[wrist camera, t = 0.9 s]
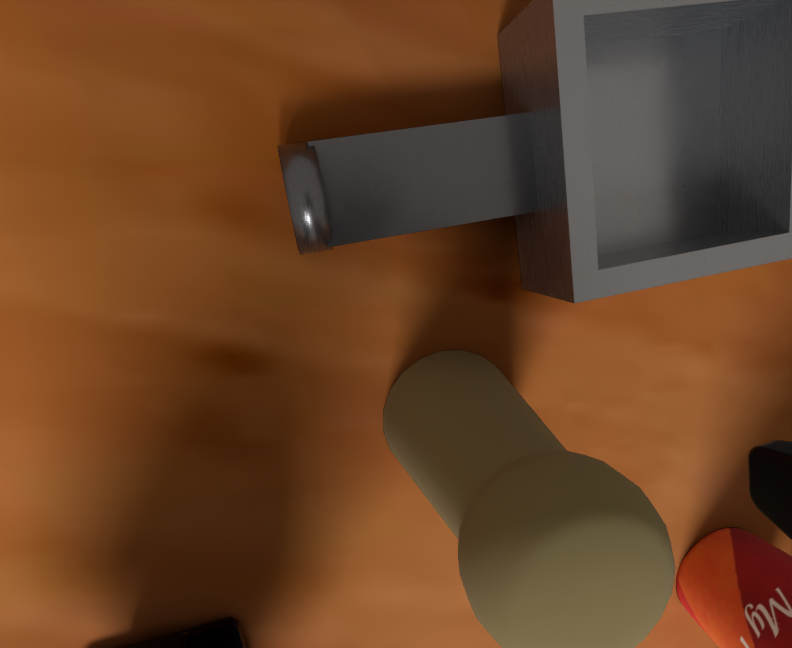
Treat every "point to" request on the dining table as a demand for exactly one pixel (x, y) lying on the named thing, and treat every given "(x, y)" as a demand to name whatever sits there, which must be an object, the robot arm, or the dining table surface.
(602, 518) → the cork
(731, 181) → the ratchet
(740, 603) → the paper cup
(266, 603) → the dining table surface
